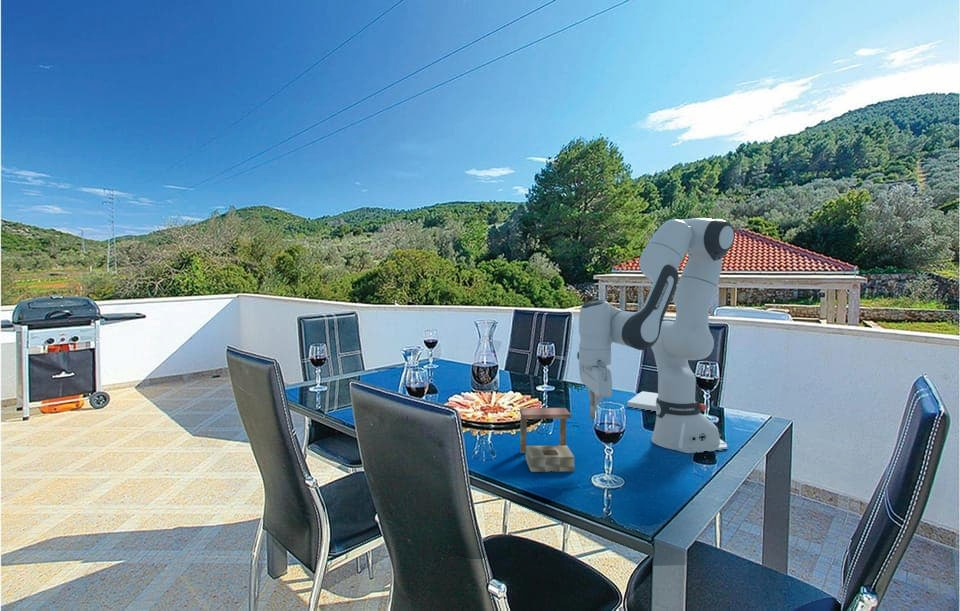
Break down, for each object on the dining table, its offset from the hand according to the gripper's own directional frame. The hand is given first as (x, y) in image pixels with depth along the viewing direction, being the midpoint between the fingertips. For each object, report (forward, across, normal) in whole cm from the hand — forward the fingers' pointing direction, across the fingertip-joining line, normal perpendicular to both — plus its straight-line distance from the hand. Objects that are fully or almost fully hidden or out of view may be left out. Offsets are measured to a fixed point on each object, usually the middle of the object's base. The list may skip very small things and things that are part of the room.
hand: (595, 405), depth 140 cm
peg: (+4, 0, 0) cm, 4 cm away
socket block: (+16, -2, +14) cm, 21 cm away
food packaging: (+19, +61, -41) cm, 76 cm away
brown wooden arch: (+16, +6, +14) cm, 22 cm away
